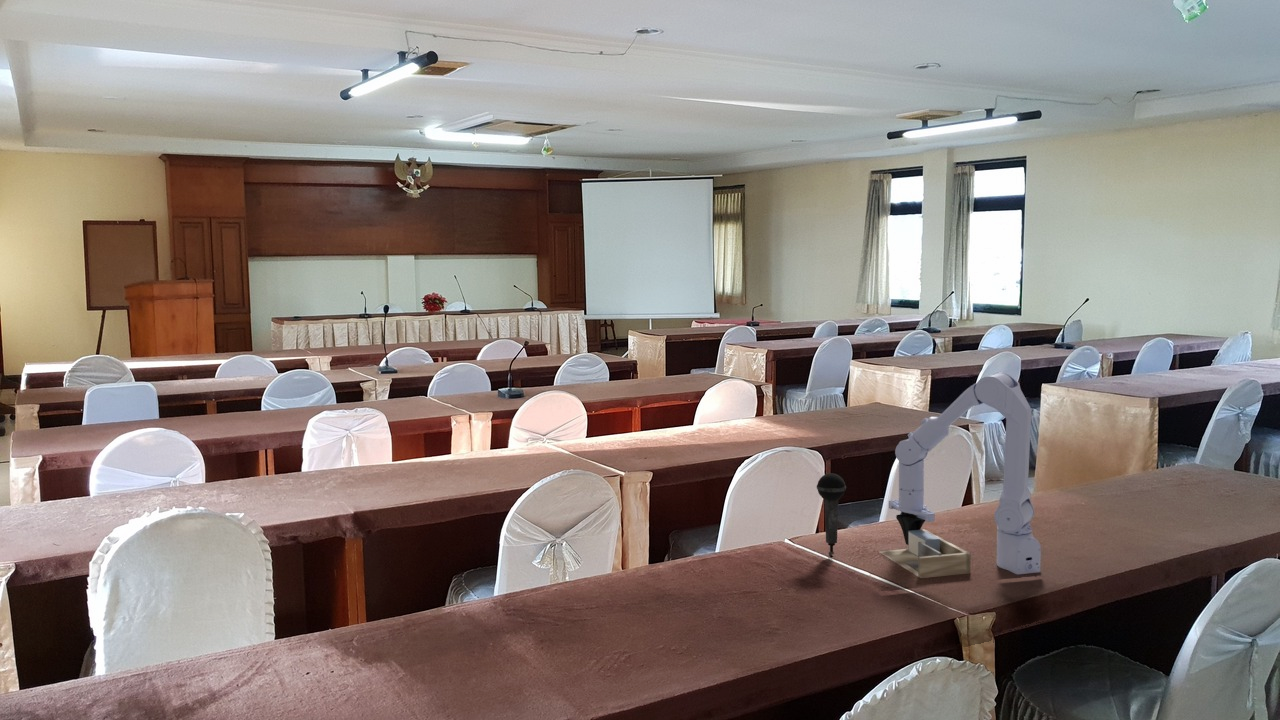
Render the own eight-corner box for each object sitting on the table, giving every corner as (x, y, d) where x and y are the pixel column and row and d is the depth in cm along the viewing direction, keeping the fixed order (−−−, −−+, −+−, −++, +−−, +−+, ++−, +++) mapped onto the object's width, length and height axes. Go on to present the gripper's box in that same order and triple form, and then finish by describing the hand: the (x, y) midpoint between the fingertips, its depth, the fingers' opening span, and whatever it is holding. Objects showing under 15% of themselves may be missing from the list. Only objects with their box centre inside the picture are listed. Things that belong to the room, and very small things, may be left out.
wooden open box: (970, 576, 208) (970, 551, 207) (920, 581, 205) (920, 556, 205) (924, 550, 227) (924, 527, 227) (878, 554, 225) (878, 531, 224)
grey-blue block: (939, 560, 217) (939, 538, 217) (925, 561, 216) (925, 540, 216) (921, 550, 225) (921, 529, 224) (908, 551, 224) (908, 530, 224)
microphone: (813, 558, 223) (812, 475, 221) (821, 550, 229) (821, 469, 227) (841, 562, 220) (841, 477, 218) (849, 554, 226) (849, 471, 224)
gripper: (945, 493, 220) (944, 550, 221) (905, 480, 233) (904, 534, 235) (921, 496, 217) (920, 554, 219) (881, 483, 230) (881, 538, 232)
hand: (910, 544), depth 226 cm, fingers closed
